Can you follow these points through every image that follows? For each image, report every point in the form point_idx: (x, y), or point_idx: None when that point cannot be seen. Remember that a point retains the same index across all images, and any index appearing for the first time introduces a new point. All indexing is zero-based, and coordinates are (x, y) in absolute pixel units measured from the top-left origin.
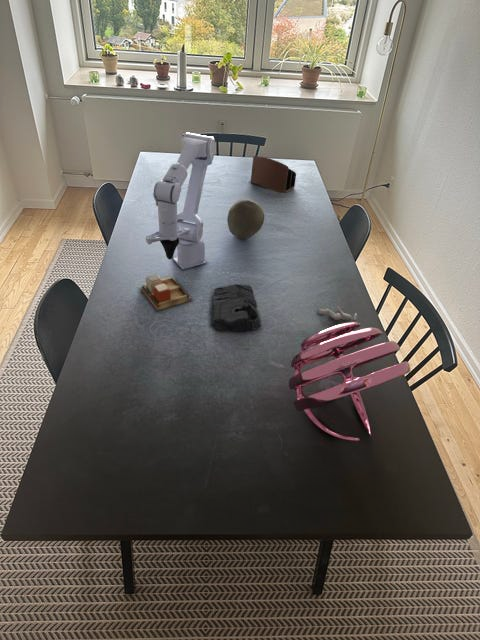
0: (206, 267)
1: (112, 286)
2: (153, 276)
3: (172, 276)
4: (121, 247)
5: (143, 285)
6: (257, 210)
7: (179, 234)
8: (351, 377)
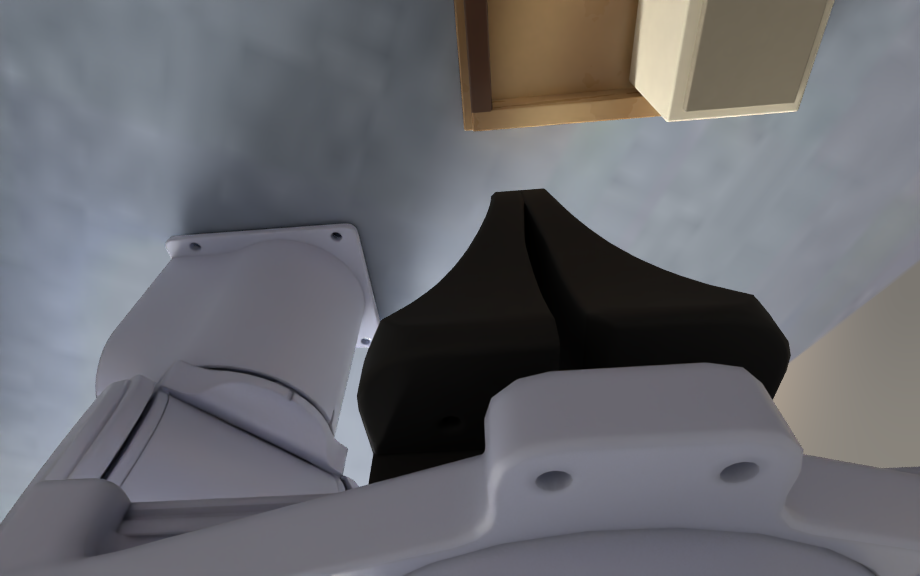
0: (167, 190)
1: (882, 209)
2: (744, 73)
3: (477, 128)
4: None
5: None
6: None
7: (305, 564)
8: None
